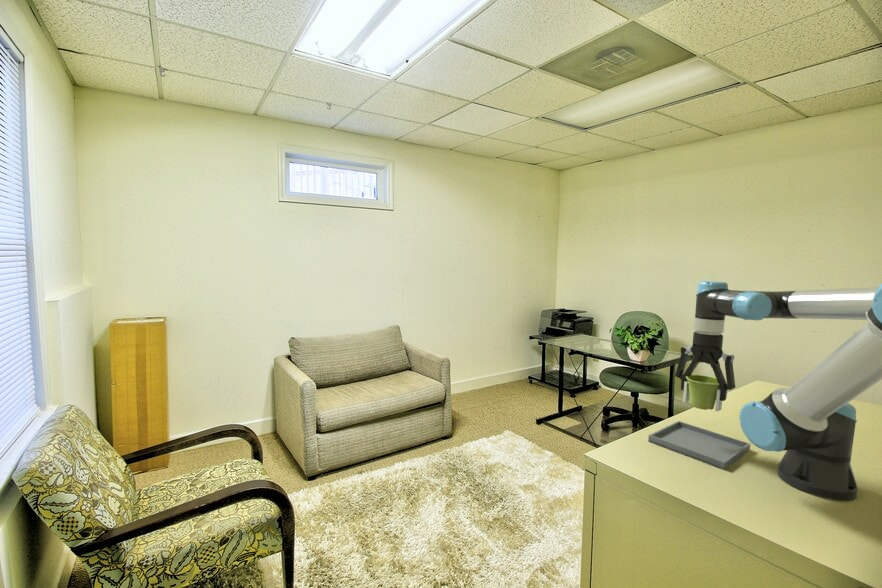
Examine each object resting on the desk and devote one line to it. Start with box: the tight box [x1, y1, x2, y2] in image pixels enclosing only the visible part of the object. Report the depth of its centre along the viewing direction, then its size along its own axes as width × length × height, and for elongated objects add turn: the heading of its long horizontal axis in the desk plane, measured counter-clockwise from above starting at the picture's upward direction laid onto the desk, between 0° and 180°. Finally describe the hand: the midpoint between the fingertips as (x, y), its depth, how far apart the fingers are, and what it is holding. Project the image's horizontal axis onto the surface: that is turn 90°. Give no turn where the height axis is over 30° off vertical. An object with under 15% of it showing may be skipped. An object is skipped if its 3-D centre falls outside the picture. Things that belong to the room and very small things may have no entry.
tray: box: [647, 420, 752, 471], centre depth 125 cm, size 21×21×2 cm
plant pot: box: [686, 374, 720, 411], centre depth 124 cm, size 9×9×9 cm
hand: (701, 405), depth 124 cm, fingers closed on plant pot, 8 cm apart
